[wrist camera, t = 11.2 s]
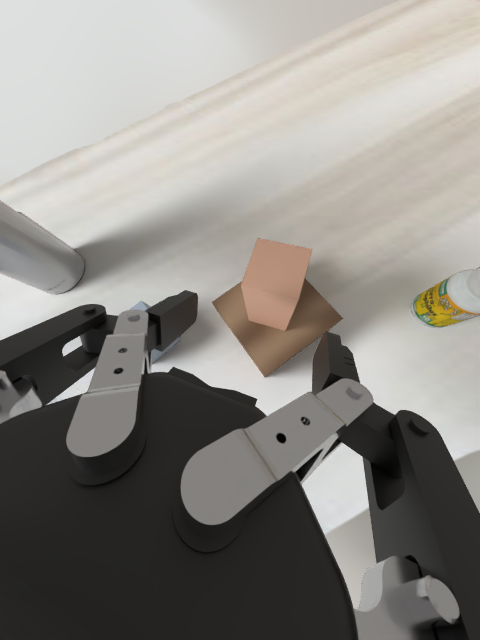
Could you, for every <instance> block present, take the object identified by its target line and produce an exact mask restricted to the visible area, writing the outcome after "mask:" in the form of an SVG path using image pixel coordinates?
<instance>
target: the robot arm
mask: <svg viewBox="0 0 480 640" xmlns="http://www.w3.org/2000/svg"><path fill="white" fill-rule="evenodd" d="M83 272H84V260H83V258H82V257H81V256H80V255H79V254H78V253H76V252H75V251H74V250H73V248H72V247H70V246H69V245H67V244H66V243H64V242H63V241H62V240H60V239H59V238H57V237H56V236H54V235H53V234H51V233H50V232H49V231H47V230H46V229H44V228H43V227H41V226H40V225H39V224H37V223H36V222H34V221H33V220H31V219H30V218H28V217H27V216H26V215H24V214H23V213H21V212H16V211H15V210H13V209H12V208H11V207H9V206H8V205H6V204H5V203H3V202H2V201H0V273H1V274H3V275H6V276H8V277H11V278H13V279H16V280H18V281H20V282H23V283H25V284H28V285H30V286H32V287H35V288H37V289H40V290H42V291H45V292H47V293H50V294H60V293H63V292H66V291H68V290H70V289H71V288H72V287H74V286H75V285H76V284H77V283H78V282H79V280H80V279H81V277H82V275H83ZM197 305H198V295H197V293H194V292H190V291H187V290H185V291H183V292H181V293H180V294H178V295H175V296H171V297H168V298H166V299H164V300H163V301H161V302H159V303H158V304H156V305H154V306H152V307H150V308H149V309H147V310H145V311H143V310H128V311H125V312H122V313H121V314H120V315H119V316H114V315H107V314H106V309H105V307H104V306H102V305H98V304H88V305H83V306H79V307H77V308H75V309H72V310H70V311H68V312H65V313H63V314H61V315H58V316H56V317H54V318H51V319H49V320H47V321H45V322H42V323H40V324H38V325H35V326H33V327H31V328H28V329H26V330H24V331H21V332H19V333H17V334H15V335H12V336H10V337H8V338H5V339H3V340H1V341H0V640H480V513H479V511H478V509H477V507H476V505H475V503H474V501H473V499H472V497H471V495H470V494H469V491H468V489H467V487H466V485H465V484H464V481H463V479H462V477H461V475H460V473H459V471H458V469H457V467H456V465H455V463H454V461H453V459H452V457H451V455H450V453H449V451H448V449H447V447H446V445H445V443H444V441H443V439H442V437H441V435H440V434H439V432H438V431H437V429H436V428H435V427H434V426H433V425H432V424H431V423H430V422H428V421H427V420H426V419H424V418H423V417H421V416H420V415H418V414H416V413H414V412H411V411H407V410H400V411H398V412H397V414H396V415H394V414H392V413H390V412H388V411H387V410H385V409H383V408H381V407H380V406H378V405H376V404H375V403H374V402H373V396H372V394H371V393H370V391H369V390H368V389H367V388H366V387H365V386H363V385H362V384H360V381H359V377H358V373H357V369H356V367H355V366H356V365H355V361H354V358H353V354H352V352H351V351H350V350H349V349H348V347H346V346H343V345H341V339H340V336H339V335H336V334H333V333H329V332H325V333H324V334H323V337H322V339H321V341H320V343H319V346H318V348H317V350H316V352H315V355H314V359H313V373H312V392H308V393H306V394H304V395H302V396H301V397H299V398H297V399H296V400H294V401H292V402H291V403H289V404H287V405H285V406H284V407H282V408H280V409H279V410H277V411H275V412H274V413H272V414H270V415H269V416H266V415H265V414H264V413H263V412H262V411H261V410H260V409H258V408H257V407H256V406H255V405H256V401H257V399H256V398H253V397H251V396H248V395H245V394H243V393H240V392H237V391H234V390H228V389H222V388H215V387H211V386H209V385H207V384H206V383H204V382H203V381H202V380H200V379H199V378H197V377H196V376H194V375H193V374H190V373H188V372H185V371H183V370H180V369H177V368H175V367H173V368H172V369H171V370H170V371H169V372H168V373H166V372H154V373H151V363H152V352H151V351H152V350H153V349H155V350H158V351H161V352H163V351H164V350H165V349H166V348H167V347H168V346H169V345H170V344H171V343H173V342H174V341H175V340H176V339H177V338H178V337H179V336H180V335H181V334H183V333H184V332H185V331H186V330H187V329H188V328H189V327H190V326H191V325H192V324H194V322H195V320H196V317H197ZM78 336H80V338H81V342H82V346H80V347H79V348H77V349H75V350H74V351H72V352H71V353H69V354H67V355H66V356H64V357H63V354H62V349H63V347H64V345H65V344H66V343H68V342H70V341H71V340H73V339H75V338H77V337H78ZM95 367H96V368H95ZM94 368H95V371H94V374H93V377H92V380H91V383H90V386H89V388H88V391H87V392H86V393H84V394H81V395H77V396H74V397H71V398H68V399H65V400H62V401H59V402H55V403H52V404H49V405H46V404H48V403H49V402H50V401H52V400H53V399H54V398H55V397H57V396H58V395H59V394H61V393H62V392H63V391H65V390H66V389H67V388H69V387H70V386H71V385H73V384H74V383H75V382H76V381H78V380H79V379H80V378H82V377H83V376H84V375H86V374H87V373H88V372H90V371H91V370H92V369H94ZM45 405H46V406H45ZM342 443H344V444H345V445H347V446H348V447H350V448H351V449H352V450H354V451H355V452H357V453H358V454H360V455H361V456H362V457H363V463H364V471H365V478H366V486H367V493H368V501H369V509H370V516H371V524H372V531H373V538H374V547H375V554H376V562H377V564H375V565H373V566H371V567H369V568H368V569H367V570H366V571H365V573H364V575H363V577H362V586H361V587H362V588H361V600H360V604H359V607H358V609H357V610H356V609H354V608H353V605H352V601H351V598H350V595H349V591H348V588H347V585H346V583H345V580H344V577H343V575H342V573H341V570H340V568H339V566H338V564H337V562H336V559H335V557H334V555H333V553H332V551H331V549H330V546H329V544H328V542H327V540H326V538H325V535H324V533H323V531H322V529H321V527H320V524H319V522H318V520H317V518H316V516H315V513H314V511H313V509H312V507H311V505H310V503H309V500H308V498H307V496H306V494H305V492H304V489H303V487H302V485H301V484H302V483H303V482H304V481H305V480H306V479H307V478H308V477H309V476H310V475H311V474H312V472H313V471H314V470H315V469H316V468H317V467H318V466H319V465H320V464H321V463H322V462H323V461H324V460H325V459H326V458H327V457H328V456H329V455H330V454H332V453H333V452H334V451H335V450H336V449H337V448H338V447H339V446H340V445H341V444H342Z"/></svg>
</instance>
